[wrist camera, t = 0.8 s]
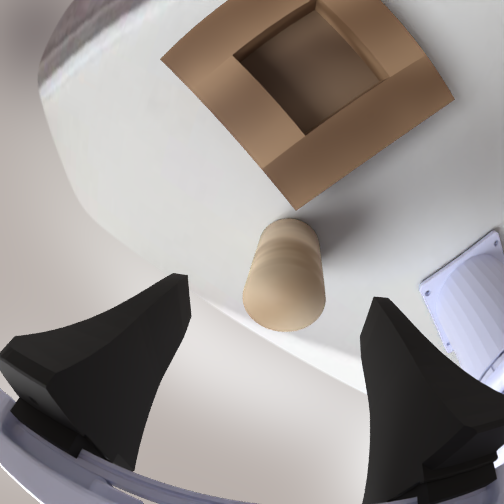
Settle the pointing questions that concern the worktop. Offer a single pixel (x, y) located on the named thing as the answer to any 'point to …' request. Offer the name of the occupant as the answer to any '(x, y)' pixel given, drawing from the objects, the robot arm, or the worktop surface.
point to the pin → (286, 278)
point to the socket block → (309, 84)
